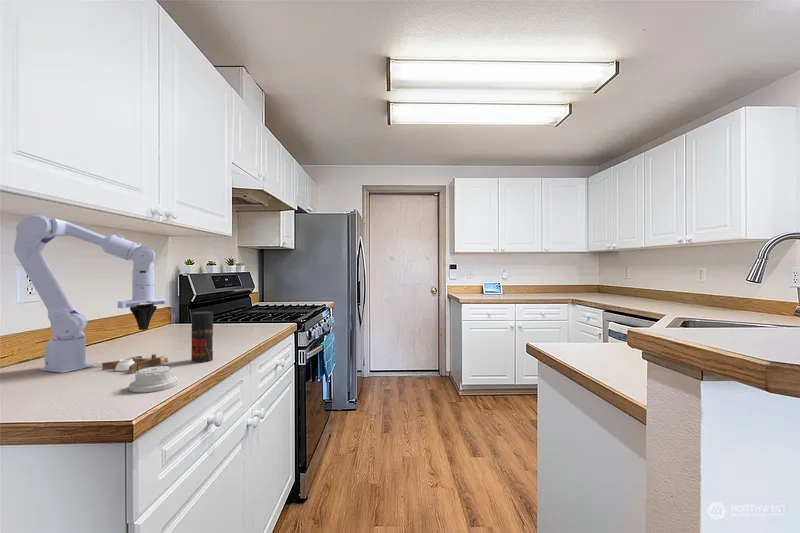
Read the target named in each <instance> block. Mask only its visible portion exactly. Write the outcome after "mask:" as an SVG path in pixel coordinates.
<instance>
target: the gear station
mask: <svg viewBox="0 0 800 533" xmlns="http://www.w3.org/2000/svg"><path fill="white" fill-rule="evenodd" d="M128 358H129V357H128ZM128 358H126V359H128ZM130 358H131V359H132V361H134V362H135V363H134V364H132V365H131V366H129V371H128V374H129V375H132V374H134V373H135V372H138V370H141V369H144V368H149V367H158V366H160V365H161V366H162V364H164V363H166V362H169V357H168V356H166V355H157V354H156V353H152V354H151V356H148V357H143V356H142V355H137V356H132V357H130ZM118 363H119V360H115V361H106V362H101V371H109V370H115V368H116V366H117V364H118Z"/></svg>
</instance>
